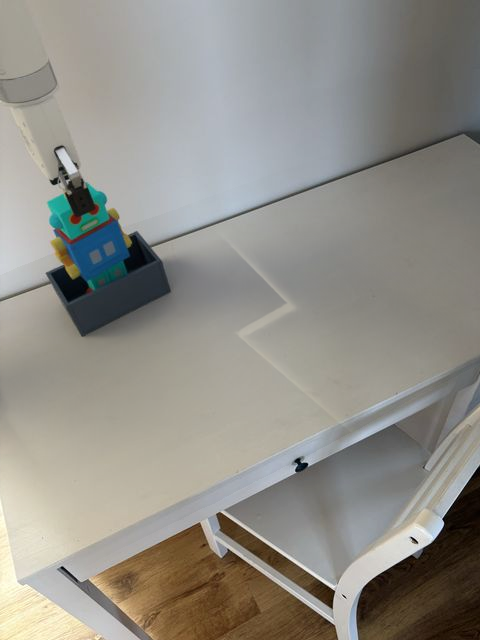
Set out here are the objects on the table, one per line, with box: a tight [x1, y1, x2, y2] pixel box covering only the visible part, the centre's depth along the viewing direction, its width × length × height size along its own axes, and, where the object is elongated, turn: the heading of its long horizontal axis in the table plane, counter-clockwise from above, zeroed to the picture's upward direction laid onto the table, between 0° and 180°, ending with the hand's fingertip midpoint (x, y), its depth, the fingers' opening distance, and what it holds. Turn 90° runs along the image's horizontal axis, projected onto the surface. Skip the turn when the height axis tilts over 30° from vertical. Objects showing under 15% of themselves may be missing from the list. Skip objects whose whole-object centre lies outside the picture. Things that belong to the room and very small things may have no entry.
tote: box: [45, 230, 172, 337], centre depth 94 cm, size 17×10×8 cm, turn 124°
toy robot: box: [46, 179, 132, 294], centre depth 86 cm, size 12×6×25 cm, turn 131°
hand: (73, 196), depth 80 cm, fingers open, 9 cm apart
